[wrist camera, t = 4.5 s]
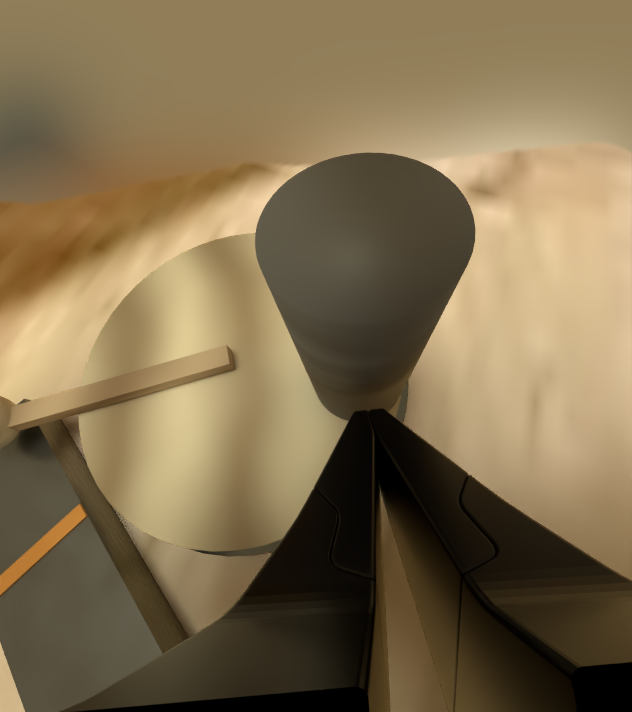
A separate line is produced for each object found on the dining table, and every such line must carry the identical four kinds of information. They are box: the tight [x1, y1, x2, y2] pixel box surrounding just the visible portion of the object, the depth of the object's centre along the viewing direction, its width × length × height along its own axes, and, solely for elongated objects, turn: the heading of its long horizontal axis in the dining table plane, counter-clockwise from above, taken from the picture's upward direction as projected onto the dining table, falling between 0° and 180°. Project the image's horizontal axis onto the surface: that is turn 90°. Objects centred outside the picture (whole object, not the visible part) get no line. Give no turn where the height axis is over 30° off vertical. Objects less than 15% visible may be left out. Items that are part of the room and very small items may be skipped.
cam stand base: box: [0, 381, 408, 712], centre depth 16 cm, size 23×17×2 cm
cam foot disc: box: [0, 153, 475, 552], centre depth 12 cm, size 21×16×10 cm
